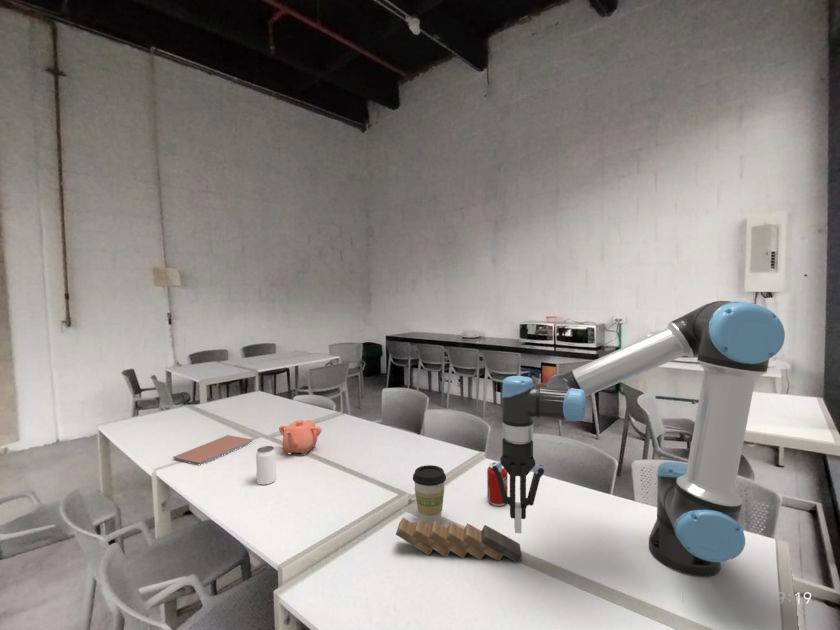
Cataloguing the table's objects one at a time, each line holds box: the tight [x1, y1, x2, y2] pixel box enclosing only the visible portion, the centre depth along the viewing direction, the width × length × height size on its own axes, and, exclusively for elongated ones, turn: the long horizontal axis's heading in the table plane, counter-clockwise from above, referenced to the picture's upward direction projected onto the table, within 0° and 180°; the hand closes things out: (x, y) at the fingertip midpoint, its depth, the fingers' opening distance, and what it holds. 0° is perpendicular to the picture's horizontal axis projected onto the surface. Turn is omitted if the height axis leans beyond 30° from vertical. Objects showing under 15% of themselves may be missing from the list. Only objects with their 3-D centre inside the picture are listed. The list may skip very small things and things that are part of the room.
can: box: [255, 445, 277, 486], centre depth 145 cm, size 6×6×12 cm
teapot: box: [278, 419, 322, 455], centre depth 172 cm, size 17×16×13 cm
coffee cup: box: [412, 464, 447, 526], centre depth 118 cm, size 10×10×15 cm
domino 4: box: [446, 521, 486, 561], centre depth 103 cm, size 2×5×10 cm
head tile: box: [480, 524, 522, 563], centre depth 102 cm, size 2×5×10 cm
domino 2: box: [412, 518, 451, 558], centre depth 105 cm, size 2×5×10 cm
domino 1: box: [395, 517, 434, 556], centre depth 105 cm, size 2×5×10 cm
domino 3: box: [429, 520, 468, 559], centre depth 104 cm, size 2×5×10 cm
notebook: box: [172, 434, 253, 466], centre depth 175 cm, size 27×17×2 cm, turn 157°
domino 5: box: [463, 522, 504, 562], centre depth 103 cm, size 2×5×10 cm
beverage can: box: [486, 461, 508, 507], centre depth 128 cm, size 6×6×12 cm
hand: (517, 530), depth 101 cm, fingers closed
